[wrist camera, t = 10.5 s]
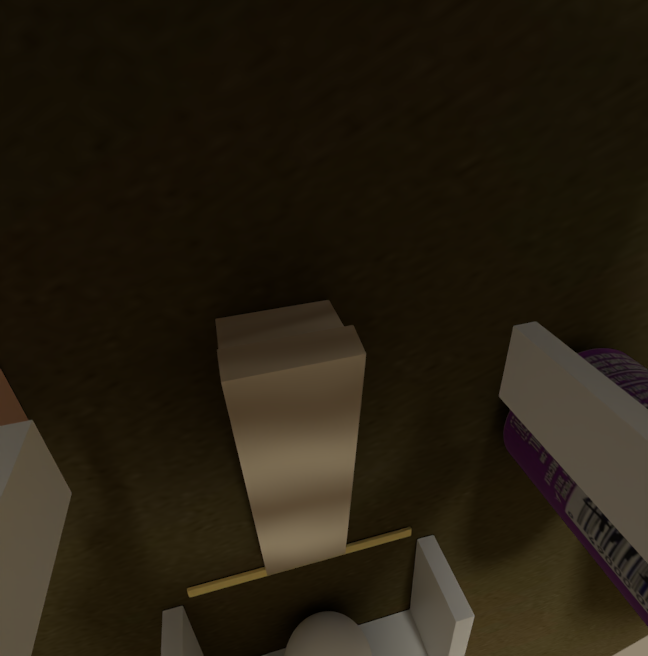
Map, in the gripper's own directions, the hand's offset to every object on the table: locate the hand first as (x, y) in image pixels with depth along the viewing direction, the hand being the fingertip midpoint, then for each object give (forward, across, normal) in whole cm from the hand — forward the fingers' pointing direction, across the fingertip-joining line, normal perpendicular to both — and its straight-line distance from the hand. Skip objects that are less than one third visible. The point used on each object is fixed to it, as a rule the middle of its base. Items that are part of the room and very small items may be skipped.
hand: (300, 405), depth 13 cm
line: (+4, 0, -14) cm, 15 cm away
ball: (+2, 0, -21) cm, 21 cm away
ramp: (+4, 0, -6) cm, 7 cm away
